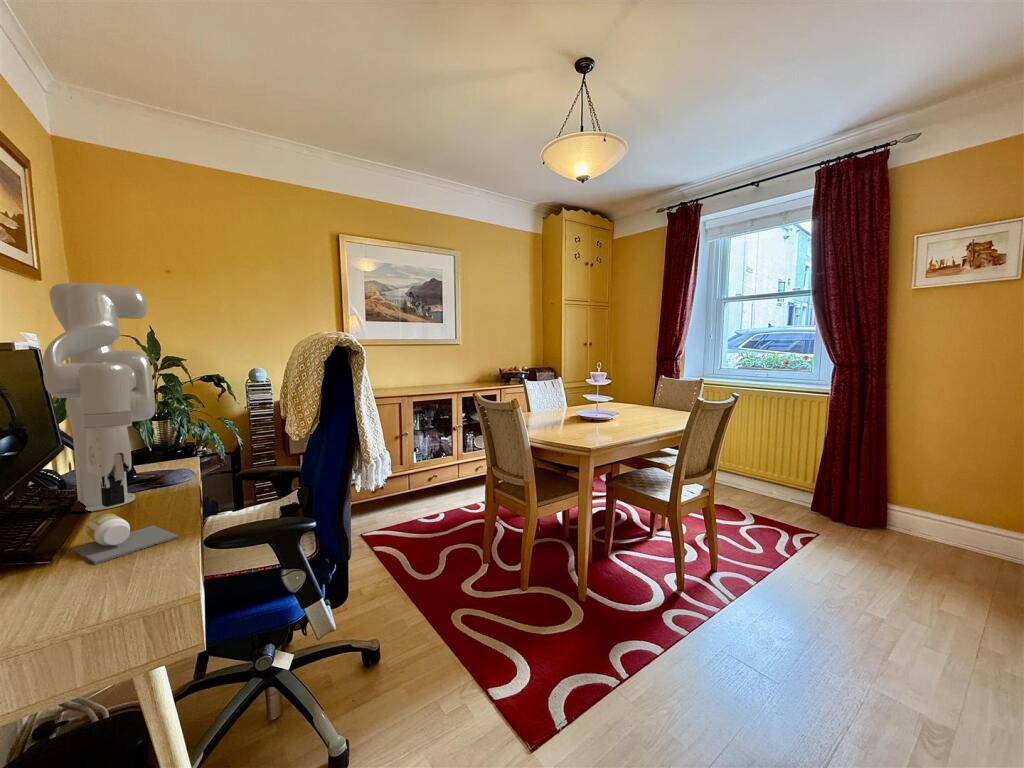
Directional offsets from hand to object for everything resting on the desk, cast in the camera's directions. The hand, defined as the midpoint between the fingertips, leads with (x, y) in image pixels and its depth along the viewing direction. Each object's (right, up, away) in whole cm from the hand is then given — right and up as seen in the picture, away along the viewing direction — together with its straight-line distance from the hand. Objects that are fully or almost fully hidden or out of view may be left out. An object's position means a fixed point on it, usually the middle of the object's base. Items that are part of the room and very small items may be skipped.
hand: (113, 504), depth 88 cm
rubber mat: (+6, -8, -3) cm, 10 cm away
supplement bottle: (-2, -4, 0) cm, 5 cm away
